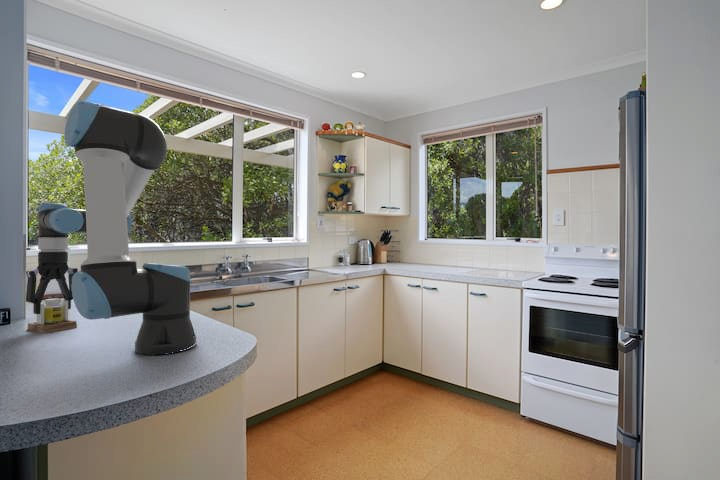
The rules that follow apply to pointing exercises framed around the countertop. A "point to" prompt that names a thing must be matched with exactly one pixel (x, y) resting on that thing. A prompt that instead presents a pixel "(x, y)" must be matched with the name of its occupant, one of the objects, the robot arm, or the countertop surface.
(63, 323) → the dock board
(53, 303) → the supplement bottle
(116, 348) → the countertop surface
